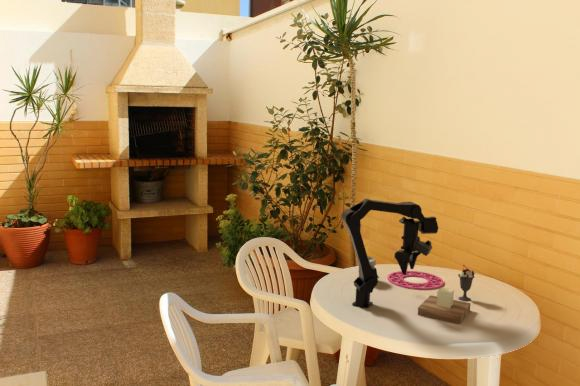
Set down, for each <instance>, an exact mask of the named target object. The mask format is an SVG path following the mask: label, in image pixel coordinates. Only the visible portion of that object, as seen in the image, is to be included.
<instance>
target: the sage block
mask: <svg viewBox="0 0 580 386" xmlns="http://www.w3.org/2000/svg"><path fill="white" fill-rule="evenodd" d="M454 293H455V290H454V289H452V288H446V287H443V286H442V287H440V288H438V290H437V293H436V295H437V305H436V306H440V307H445V308H450V307H451V306H452V305H453V300H454V295H455V294H454Z"/></svg>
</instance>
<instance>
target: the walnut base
mask: <svg viewBox="0 0 580 386" xmlns="http://www.w3.org/2000/svg"><path fill="white" fill-rule="evenodd" d="M471 304H472V303H470V302H468V301H462V300H457V299H456V300H455V299H453V305H452V306H451V307H450V308H445V307H440V306H436V305H437V296H436V295H431V294H430V295H429V296H428V297H427V298H426V299H425V300H424V301H422V303H421V304H420V305H419V306H418V307H417V315H419V316H423V317H428V318H432V319H437V320H440V321H444V322H445V321H446V322H450V323H453V324H454V323H455V324H458V325H460V324H461V323H462V322H463V320H464V319H466V317H467V315H468V314H469V312H471Z"/></svg>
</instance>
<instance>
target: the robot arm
mask: <svg viewBox="0 0 580 386" xmlns="http://www.w3.org/2000/svg"><path fill="white" fill-rule="evenodd" d="M422 210H423V209H422V207H421V206H420V204H417V203H416V202H413V201H401V202H394V201H393V202H392V201H391V202H390V201H384V200H376V199H369V198H364V199H362V200H361V201H360V202H358V203H356V204H354V205H352V206H351V207H350V208H346V209H344V210H343V211H342V213H341V215H340V217H341V218H340V219H341V221H342V222H343V224H344V226H345V228H346V230H347V231H348V233H349V236H350V240H351V243H352V247H353V250H354V253H355V256H356V259H357V262H358V277H356V279H355V280H353V286H354V287H355V300H354V301H353V303H352V304H351V305H352V306H355V305H356V306H355V307H359V306H360V307H359V308H365V309H368V308H369V307H370V306H372V305H373V301H371V294H372V293H373V292H374V289H375V287H377V285H378V283H379V278H380V276H379V275H378V271H377V268H376V267H375V266H373V265H372V264H371V265H370V263H369V260H368V257H367V256H368V253H367V249H366V246H365V244H364V240H363V237H362V233H361V230H362V229H361V228H362V227H361V225H362V223H361V221H362V220H363V219H364V218H365V217H366V216H367V215H368V213H369V212H370V211H374V212H375V211H376V212H386V213H392V214H398V215H402V218H400V219H398V222H399V223H400V224H402V225H403V232H402V233H403V234H402V236H401V240H402V245H401V246H400V249H398V250H397V251H396V252H395V253H394V257H393V259H395V260H396V262H397V264H398V266H399V269H400V271H402V273H403V275H406V272H407V271H408V267H409V269H410V270H414V268H415V265H416V262H417V259H418V257H419V256H420V255H421V254H422V255H423V256H425V257H426V256H428V255H429V254H430V253H431V251H432V249H433V245H432V241H431V240H429V239H427V240H426V241H422V240H421V237H420V236H419V232H420V233H421V234H422V235H431V234H432V235H433V234H435V235H436V234H437V233H438V231H439V225H438V221H437V217H435V216H425V215H424V214H423V212H422Z"/></svg>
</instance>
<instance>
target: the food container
mask: <svg viewBox="0 0 580 386" xmlns="http://www.w3.org/2000/svg"><path fill="white" fill-rule="evenodd" d="M367 257H368V260H369V263H370V265H371V264H372V265H373V266H374V267H375V266H376V265H377V261H376V259H375V258H374V257H373V256H369V255H367Z"/></svg>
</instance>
